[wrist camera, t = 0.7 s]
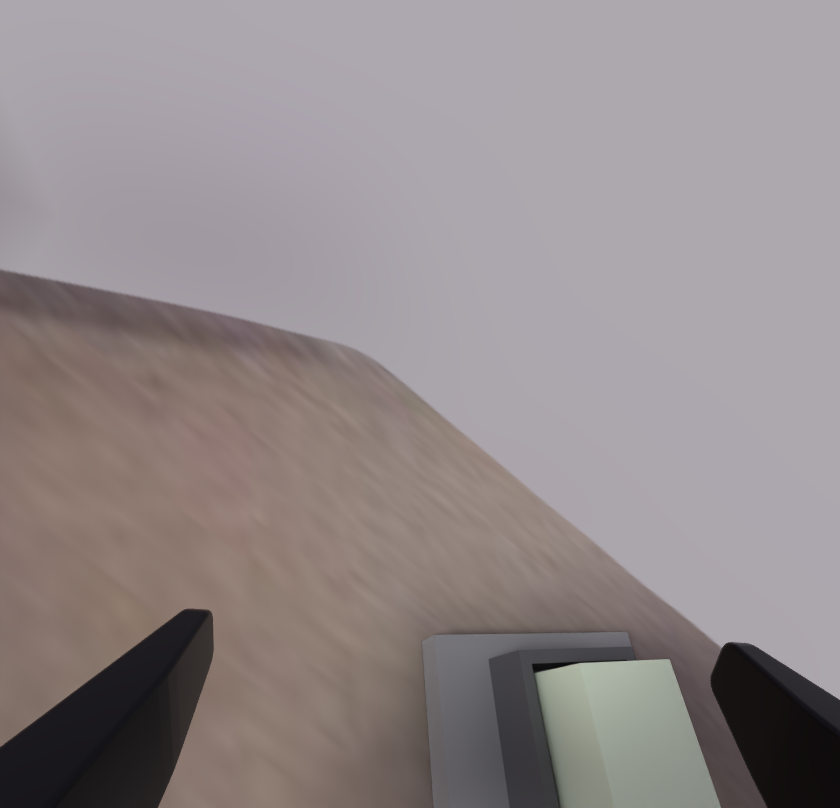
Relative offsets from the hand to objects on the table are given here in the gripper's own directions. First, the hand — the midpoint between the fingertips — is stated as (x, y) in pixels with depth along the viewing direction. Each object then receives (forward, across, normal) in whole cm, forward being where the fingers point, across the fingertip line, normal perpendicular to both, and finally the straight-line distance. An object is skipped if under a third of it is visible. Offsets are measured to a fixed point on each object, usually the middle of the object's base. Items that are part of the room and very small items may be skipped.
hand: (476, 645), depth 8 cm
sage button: (+7, -7, +11) cm, 15 cm away
